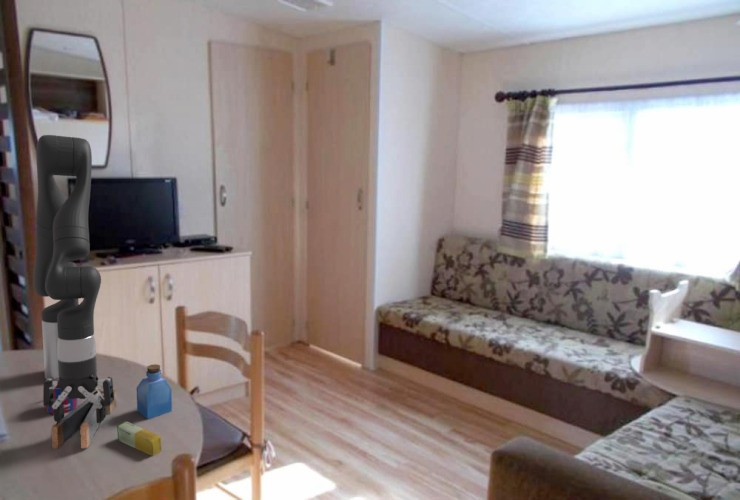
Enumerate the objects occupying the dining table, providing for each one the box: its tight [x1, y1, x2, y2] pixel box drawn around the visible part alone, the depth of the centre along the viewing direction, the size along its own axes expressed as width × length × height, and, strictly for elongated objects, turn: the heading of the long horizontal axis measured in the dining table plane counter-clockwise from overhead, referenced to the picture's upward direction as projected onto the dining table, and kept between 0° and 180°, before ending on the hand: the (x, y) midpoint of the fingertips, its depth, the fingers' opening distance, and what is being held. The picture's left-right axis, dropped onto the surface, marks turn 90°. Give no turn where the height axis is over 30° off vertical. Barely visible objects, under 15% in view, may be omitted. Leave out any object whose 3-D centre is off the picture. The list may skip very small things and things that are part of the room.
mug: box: [46, 377, 78, 415], centre depth 134 cm, size 7×10×7 cm
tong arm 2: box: [79, 395, 104, 449], centre depth 122 cm, size 16×1×5 cm, turn 14°
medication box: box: [116, 420, 162, 457], centre depth 117 cm, size 12×3×4 cm, turn 62°
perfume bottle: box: [136, 363, 173, 420], centre depth 133 cm, size 6×6×12 cm
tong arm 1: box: [51, 398, 93, 450], centre depth 122 cm, size 16×1×5 cm, turn 178°
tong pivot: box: [91, 387, 117, 415], centre depth 132 cm, size 4×5×6 cm
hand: (80, 422), depth 119 cm, fingers open, 8 cm apart
